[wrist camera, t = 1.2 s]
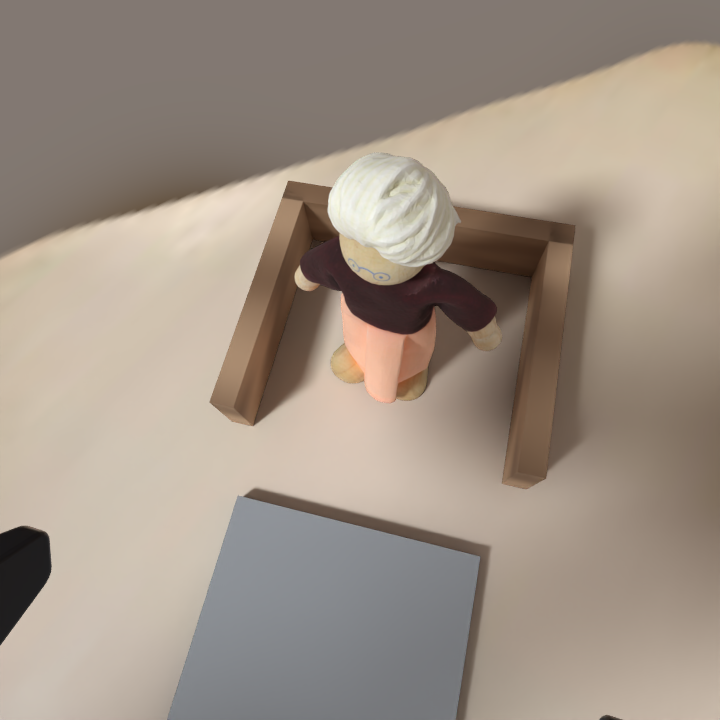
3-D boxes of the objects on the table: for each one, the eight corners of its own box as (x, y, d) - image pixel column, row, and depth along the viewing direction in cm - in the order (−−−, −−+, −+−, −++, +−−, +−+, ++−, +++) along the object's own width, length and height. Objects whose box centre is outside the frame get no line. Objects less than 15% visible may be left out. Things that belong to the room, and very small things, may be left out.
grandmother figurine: (302, 394, 23) (207, 226, 12) (320, 318, 25) (252, 99, 13) (472, 423, 22) (557, 272, 11) (482, 343, 24) (568, 129, 12)
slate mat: (430, 870, 17) (431, 880, 17) (154, 775, 19) (147, 782, 18) (478, 556, 21) (480, 556, 20) (241, 497, 22) (237, 495, 21)
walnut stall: (526, 489, 21) (545, 478, 19) (231, 421, 23) (209, 402, 20) (555, 262, 25) (575, 225, 22) (299, 220, 27) (288, 180, 24)
